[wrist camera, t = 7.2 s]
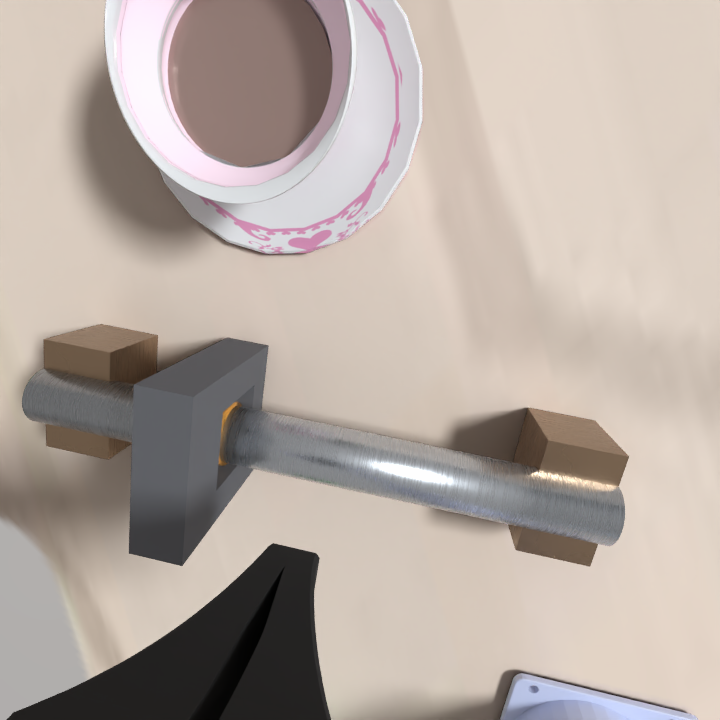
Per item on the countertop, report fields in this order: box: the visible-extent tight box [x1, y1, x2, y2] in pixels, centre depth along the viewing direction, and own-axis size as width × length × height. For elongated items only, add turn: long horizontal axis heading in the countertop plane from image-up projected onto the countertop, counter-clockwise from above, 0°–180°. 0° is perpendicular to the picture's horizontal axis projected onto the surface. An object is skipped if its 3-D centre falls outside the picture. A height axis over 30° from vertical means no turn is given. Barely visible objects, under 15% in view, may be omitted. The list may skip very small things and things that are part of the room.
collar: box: [129, 338, 268, 566], centre depth 19 cm, size 2×6×7 cm, turn 171°
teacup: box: [104, 0, 422, 254], centre depth 16 cm, size 12×12×6 cm
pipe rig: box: [22, 324, 629, 566], centre depth 20 cm, size 24×5×5 cm, turn 81°
